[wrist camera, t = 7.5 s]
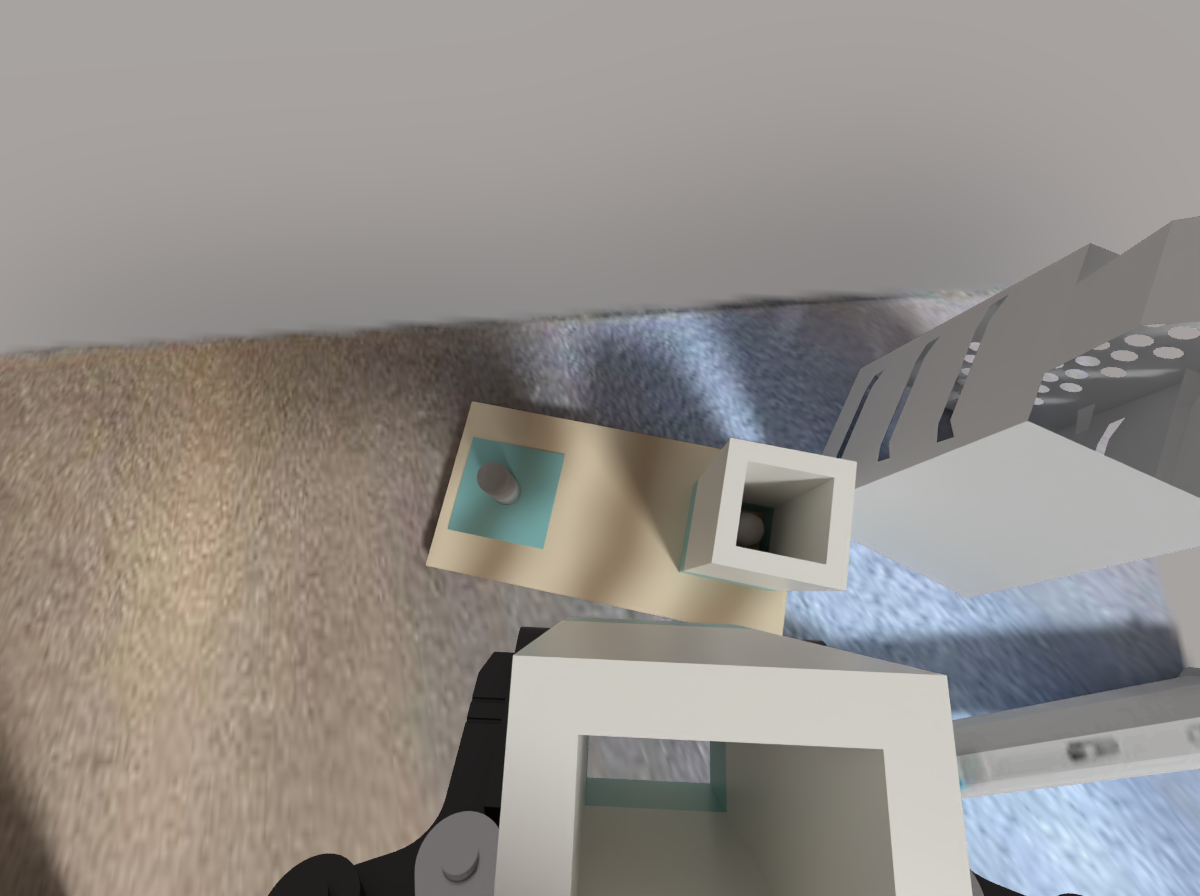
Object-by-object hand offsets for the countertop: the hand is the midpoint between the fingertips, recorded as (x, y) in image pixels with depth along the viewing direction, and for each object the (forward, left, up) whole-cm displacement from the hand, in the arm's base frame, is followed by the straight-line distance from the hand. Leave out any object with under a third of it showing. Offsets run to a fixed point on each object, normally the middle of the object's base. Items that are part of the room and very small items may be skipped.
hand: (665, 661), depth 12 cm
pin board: (-2, +5, -20) cm, 20 cm away
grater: (+15, +11, -20) cm, 27 cm away
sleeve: (0, -2, -4) cm, 5 cm away
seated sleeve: (+5, +5, -18) cm, 19 cm away
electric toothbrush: (+22, -1, -20) cm, 30 cm away
